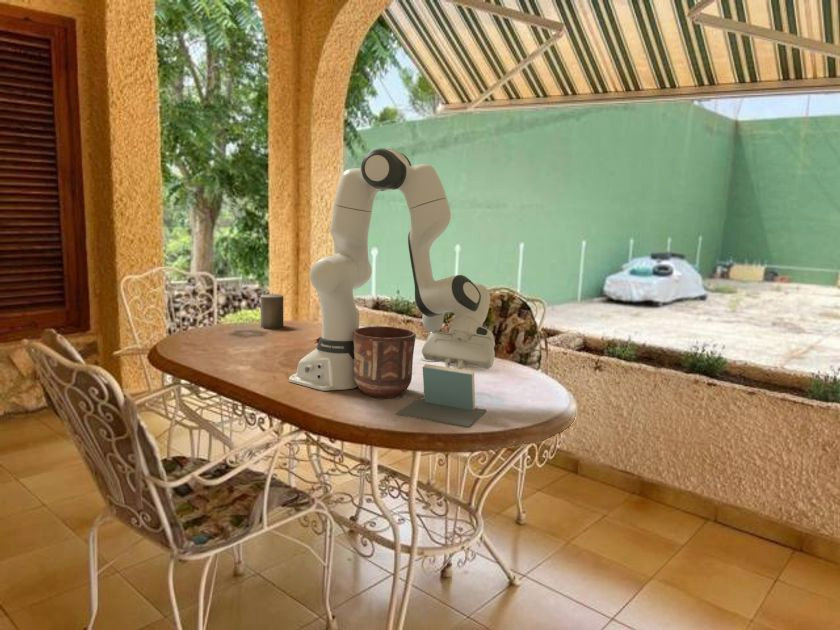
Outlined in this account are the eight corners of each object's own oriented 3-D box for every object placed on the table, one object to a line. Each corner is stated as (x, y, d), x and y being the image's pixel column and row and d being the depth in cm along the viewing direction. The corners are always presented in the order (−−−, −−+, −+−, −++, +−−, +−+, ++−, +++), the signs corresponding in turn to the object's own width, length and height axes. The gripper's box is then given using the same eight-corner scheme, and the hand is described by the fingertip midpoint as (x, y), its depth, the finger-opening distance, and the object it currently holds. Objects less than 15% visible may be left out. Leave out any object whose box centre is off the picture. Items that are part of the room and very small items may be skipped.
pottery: (380, 380, 194) (382, 323, 191) (424, 392, 183) (427, 332, 180) (339, 391, 180) (340, 330, 177) (383, 405, 169) (386, 341, 166)
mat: (395, 414, 163) (395, 412, 162) (418, 399, 176) (418, 398, 176) (468, 427, 155) (468, 426, 155) (486, 411, 169) (486, 409, 168)
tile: (424, 402, 173) (422, 367, 168) (427, 398, 174) (425, 363, 170) (472, 410, 167) (471, 374, 163) (475, 406, 169) (474, 371, 165)
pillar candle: (286, 328, 268) (286, 293, 265) (264, 329, 263) (264, 294, 260) (278, 324, 276) (279, 290, 273) (257, 325, 271) (257, 291, 268)
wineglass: (422, 362, 219) (425, 303, 216) (418, 356, 227) (421, 299, 223) (443, 361, 221) (446, 303, 217) (438, 356, 228) (441, 300, 225)
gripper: (427, 323, 178) (412, 363, 170) (497, 332, 170) (484, 374, 163) (432, 336, 183) (418, 376, 175) (500, 344, 175) (488, 387, 168)
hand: (450, 375), depth 169 cm, fingers closed
